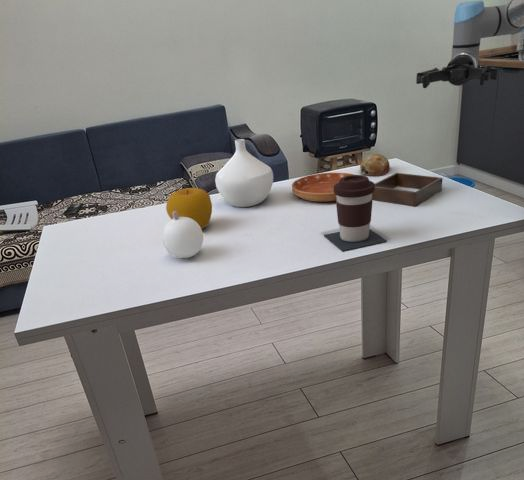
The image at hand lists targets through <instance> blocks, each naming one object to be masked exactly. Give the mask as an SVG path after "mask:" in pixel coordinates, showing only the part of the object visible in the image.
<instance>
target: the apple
mask: <svg viewBox="0 0 524 480" xmlns="http://www.w3.org/2000/svg"><path fill="white" fill-rule="evenodd" d="M165 210H166V213H167V215H168V217H169V219H170V220H172V219H173V211H177V214H178V217H188V218H191V219H193V220H194V221H196V222H197V223H198V225H199V226H200V228H201V230H202V229H204V228H206V227H207V226H208V225H209V223H210V221H211V217H212V213H213V203H212V199H211V196H210V194H209V193H208V192H207V191H206V190H204V189H203V188H198V187H187V188H182V189H178V190H176V191H174V192H172V193H171V194H170V195H169V196H168V199H167V202H166V205H165Z"/></svg>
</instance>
